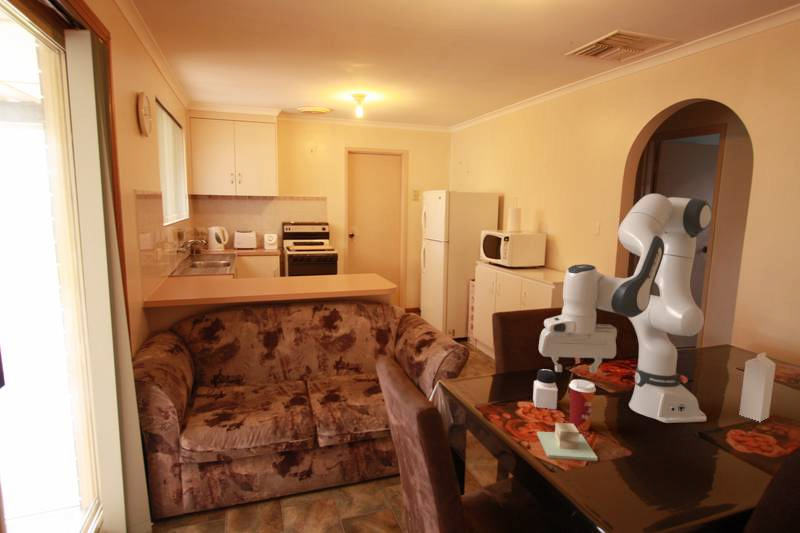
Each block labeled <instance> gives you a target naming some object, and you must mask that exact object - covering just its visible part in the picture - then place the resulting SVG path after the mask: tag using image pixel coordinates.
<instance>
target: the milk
mask: <svg viewBox="0 0 800 533" xmlns="http://www.w3.org/2000/svg"><path fill="white" fill-rule="evenodd" d="M776 365H777V364H776V363H775V362H774V361H772V360H771V359H770V358H768V357H767V352H766V351H764V352H761V353H758V354H757V355H756V357H755V358H752V359H748V360H746V361H745V364H744V371H743V372H744V373H743V380H742V389H741V397H740V405H739V411H738V412H739V414H738V415H739V416H740V415H741V417H743V416H744V417H743V418H746V417H747V418H746V419H748V418H750V419H749V420H751V419H753V420H752V421H754V420H756V421H755V422H757V421H759V422H758V423H762V422H761V421H763V420H765V419H767V418H769V416H770V412H771V411H770V410H771V402H772V396H773V395H772V394H773V388H774V379H775V373H776V372H775V371H776ZM767 420H768V419H767ZM765 421H766V420H765ZM763 422H764V421H763Z"/></svg>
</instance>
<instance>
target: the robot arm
mask: <svg viewBox="0 0 800 533" xmlns="http://www.w3.org/2000/svg"><path fill="white" fill-rule="evenodd" d="M711 207H712V206H711V205H710V204H709V203H708V201H706V200H704V199H701V198H696V197H695V198H688V197H678V196H677V197H675V196H674V197H673V196H671V197H667V196H665V195H662V194H660V193H650V194H649V193H647V194H646V195H644V196H643V197H642V198H640V199H639V200H638V201H637V202H636V203H635V204H634V205H633V207H632V208H631V209H630V210H629V211H628V213H627V214H626V216H625V217H624V219H623V220H622V222H621V223H620V225H619V227H618V231H617V236H618V240H619V242H620V244H621V245H622V246H623V247H624V248H625V249H626V250H627V251H629V252H630V253H631V254H634V255H636V256H638V257H640V258H639V261H638V262H637V265H636V268H635V271H634V273H633V275H631V276H630V277H629V276H628V277H625V278H623V277H617V276H609V275H604V274H603V273H600V272H599V271H598V270H597V267H596V266H595V265H592V264H575V265H571V266H569V267H568V268H566V271H565V275H564V280H563V285H562V286H563V287H562V300H563V307H562V309H561V314H560V315H556V316H552V317H549V318H546V319H544V321H543V326H544V327H545V328H543V329H542V330H541V333H540V335H539V341H538V343H539V344H538V351H539V354H540V355H542V356H543V357H549V358H551V360H552V362H553V363H554V372H555V373H562V372H563V365H562V364H561V363H560V364H559V363H558V362H557V361H559V358H582V359H585V358H586V359H588V358H589V359H594V362H593V363H592V364H590V365H588V366H589V370H588V371H589V373H591V374H597V373H598V368H599V366H600V365H601V363H602V362H603V359H614V358H615V357H616V355H617V343H616V339H617V335H618V330H617V328H616V327H615V326H614V325H612V324H609V323H607V324H602V323H597V310H596V309H599V310H600V311H601V310H602V311H605V312H609V313H610V312H611V313H615V314H617V315H621V316H624V317H627V318H628V319H629V321H630V322H631V324H632V326H633V328H634V332H635V333H636V336H637V343H638V358H637V359H638V360H637V366H636V368H635V376H634V383H635V385H634V389H633V394H632V396H631V399H630V400H629V402H628V406H629V408H630V410H632V411H634V412H635V413H637V414H640V415H643V416H645V417H648V418H651V419H655V420H657V421H659V422H662V423H666V424H669V423H670V424H672V423H673V424H674V423H697V422H698V423H700V422H701V423H702V422H707V415H706V414H705V413H704V412H703V411H702V410H701V409H700V407H699V402H698V399H697V397H696V396H695V395H694V394H693V393H692V392H691V391H689V390H688V389H687V388H686V387H685V386H684V385H682V384H681V383H683V384H687V383H688V381H689V379H688V378H687V377H686V376H684V375H682V374H680V373H678V372H677V363H678V362H677V361H678V354H679V353H678V349H677V348H676V346H675V345H674V344H673V343H672V341H671V340H670V339H669V337H668V334H671V335H673V336H682V337H693V336H695V335H697V334H699V332H701V330H702V328H703V326H704V324H705V317H704V313H703V311H702V310H701V308H699V306H698V305H697V304H696V302H695V300H694V297H693V296H692V291H691V276H692V270H693V265H694V259H695V255H696V249H697V248H696V246H697V236H699V235H700V234H701V233H703V232H704V231H705V230H706V229H707V228H708V227H709V226H710V223H711V219H712V208H711ZM654 284H656V285H657V286H658V289H659V295H653V294H651V293H652V289H653V286H654ZM667 333H668V334H667Z"/></svg>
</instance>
